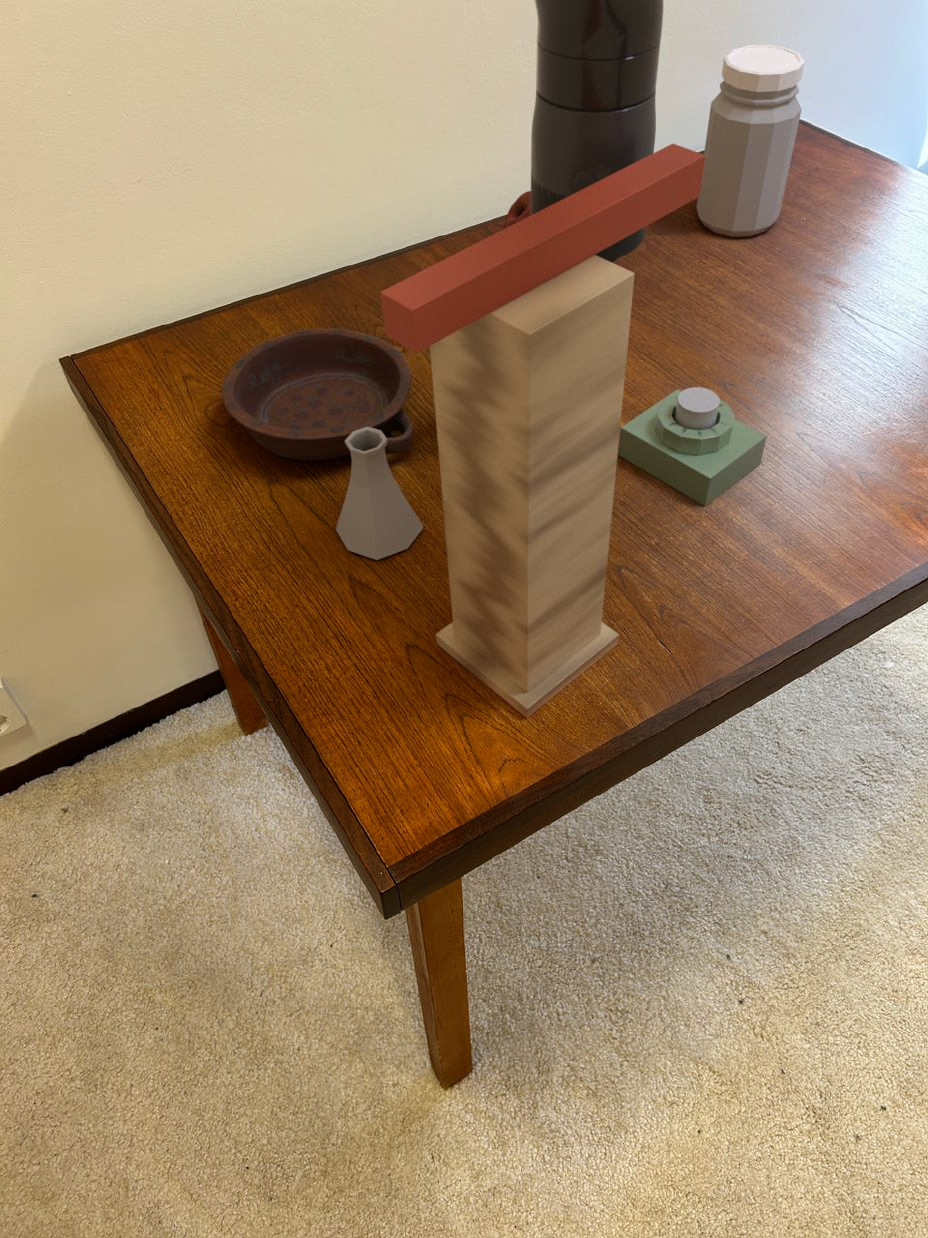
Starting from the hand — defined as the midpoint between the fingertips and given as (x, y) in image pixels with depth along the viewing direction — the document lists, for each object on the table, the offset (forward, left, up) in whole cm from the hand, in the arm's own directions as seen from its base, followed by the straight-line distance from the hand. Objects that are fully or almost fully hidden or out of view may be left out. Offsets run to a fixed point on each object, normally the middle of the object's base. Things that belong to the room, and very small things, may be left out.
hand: (578, 383), depth 72 cm
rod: (-7, +10, +16) cm, 20 cm away
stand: (-7, +12, -14) cm, 20 cm away
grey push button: (-2, -14, -10) cm, 17 cm away
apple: (+33, -30, -15) cm, 47 cm away
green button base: (-2, -14, -15) cm, 20 cm away
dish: (+27, +6, -15) cm, 32 cm away
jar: (+22, -53, -15) cm, 59 cm away
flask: (+11, +12, -15) cm, 22 cm away
